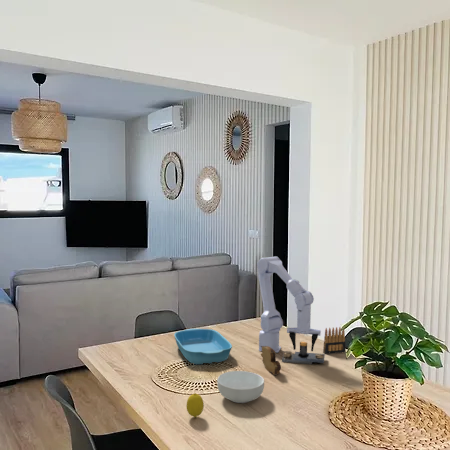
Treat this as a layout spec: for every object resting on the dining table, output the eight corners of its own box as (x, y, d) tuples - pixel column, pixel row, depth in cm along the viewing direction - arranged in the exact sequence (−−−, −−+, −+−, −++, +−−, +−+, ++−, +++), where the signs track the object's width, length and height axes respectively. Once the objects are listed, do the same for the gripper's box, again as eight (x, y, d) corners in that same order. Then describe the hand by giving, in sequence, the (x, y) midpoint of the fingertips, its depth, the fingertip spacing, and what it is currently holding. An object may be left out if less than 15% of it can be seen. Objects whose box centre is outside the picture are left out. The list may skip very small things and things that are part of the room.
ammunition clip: (343, 350, 212) (344, 325, 212) (345, 352, 211) (346, 326, 210) (323, 352, 210) (323, 327, 209) (325, 354, 208) (325, 328, 207)
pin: (299, 361, 198) (299, 343, 198) (299, 359, 201) (300, 341, 201) (306, 362, 197) (307, 344, 197) (307, 359, 200) (307, 342, 200)
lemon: (186, 413, 148) (186, 390, 148) (203, 413, 149) (203, 389, 148) (186, 421, 143) (186, 397, 142) (203, 421, 143) (203, 396, 143)
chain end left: (281, 361, 198) (281, 354, 197) (284, 355, 205) (284, 349, 205) (311, 364, 194) (311, 357, 194) (313, 358, 202) (313, 351, 202)
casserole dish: (238, 364, 194) (238, 348, 194) (188, 370, 187) (188, 353, 187) (213, 340, 229) (213, 326, 229) (169, 344, 222) (169, 330, 222)
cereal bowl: (249, 413, 149) (249, 392, 148) (207, 401, 158) (208, 381, 157) (272, 395, 163) (272, 376, 163) (233, 385, 172) (233, 366, 172)
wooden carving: (285, 377, 180) (285, 352, 179) (274, 378, 178) (275, 354, 178) (266, 363, 195) (266, 340, 195) (257, 364, 194) (257, 342, 193)
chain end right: (293, 362, 196) (293, 356, 196) (295, 356, 204) (295, 350, 204) (323, 365, 193) (323, 358, 193) (324, 359, 201) (324, 352, 200)
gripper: (286, 320, 196) (285, 351, 197) (320, 323, 192) (319, 354, 193) (288, 316, 203) (287, 346, 204) (321, 319, 199) (320, 349, 200)
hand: (303, 349), depth 199 cm, fingers open, 7 cm apart
